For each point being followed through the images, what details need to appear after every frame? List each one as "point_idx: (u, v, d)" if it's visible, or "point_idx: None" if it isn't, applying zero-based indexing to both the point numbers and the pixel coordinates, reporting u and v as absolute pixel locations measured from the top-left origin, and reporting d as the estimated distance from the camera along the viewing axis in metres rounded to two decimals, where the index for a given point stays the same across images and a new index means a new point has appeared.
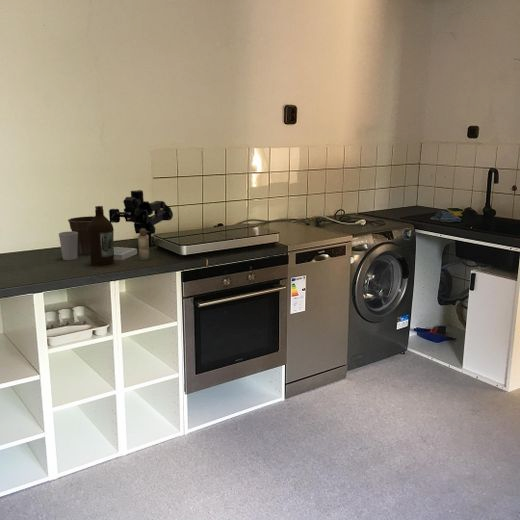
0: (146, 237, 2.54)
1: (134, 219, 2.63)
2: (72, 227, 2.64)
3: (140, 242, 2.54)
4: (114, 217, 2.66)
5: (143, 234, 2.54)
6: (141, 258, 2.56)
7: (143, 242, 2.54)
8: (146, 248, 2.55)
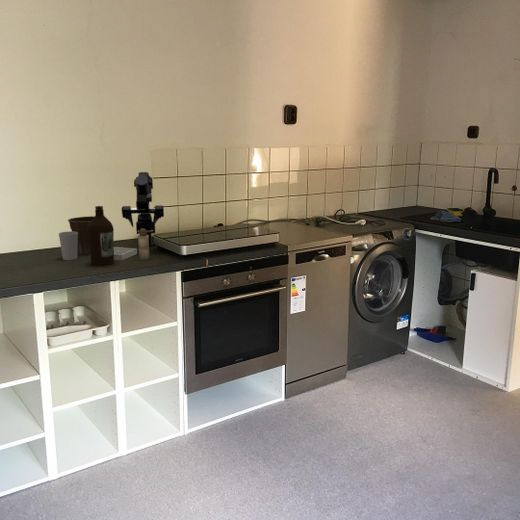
0: (146, 237, 2.54)
1: (155, 221, 2.65)
2: (72, 227, 2.64)
3: (140, 242, 2.54)
4: (132, 220, 2.63)
5: (143, 234, 2.54)
6: (141, 258, 2.56)
7: (143, 242, 2.54)
8: (146, 248, 2.55)
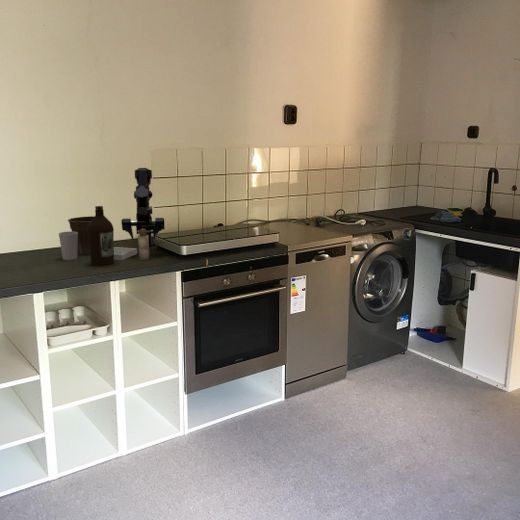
0: (146, 237, 2.54)
1: (156, 234, 2.60)
2: (72, 227, 2.64)
3: (140, 242, 2.54)
4: (132, 233, 2.58)
5: (143, 234, 2.54)
6: (141, 258, 2.56)
7: (143, 242, 2.54)
8: (146, 248, 2.55)
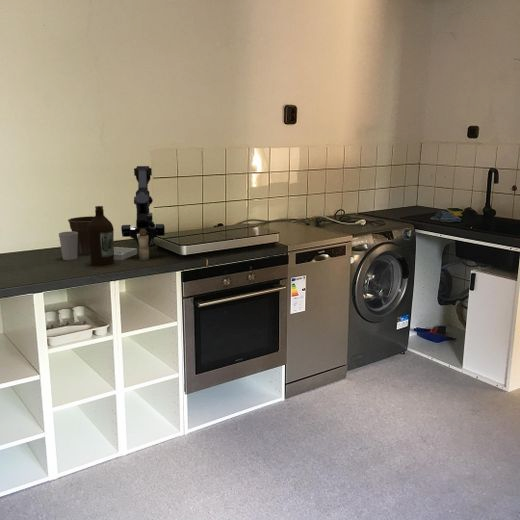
0: (146, 237, 2.54)
1: (151, 241, 2.57)
2: (72, 227, 2.64)
3: (140, 242, 2.54)
4: (137, 239, 2.56)
5: (143, 234, 2.54)
6: (141, 258, 2.56)
7: (143, 242, 2.54)
8: (146, 248, 2.55)
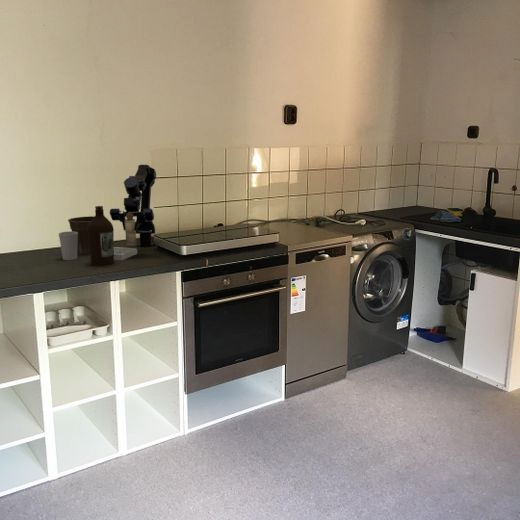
0: (132, 221, 2.54)
1: (138, 225, 2.57)
2: (72, 227, 2.64)
3: (126, 226, 2.55)
4: None
5: (129, 218, 2.54)
6: (127, 242, 2.56)
7: (128, 226, 2.54)
8: (132, 232, 2.55)
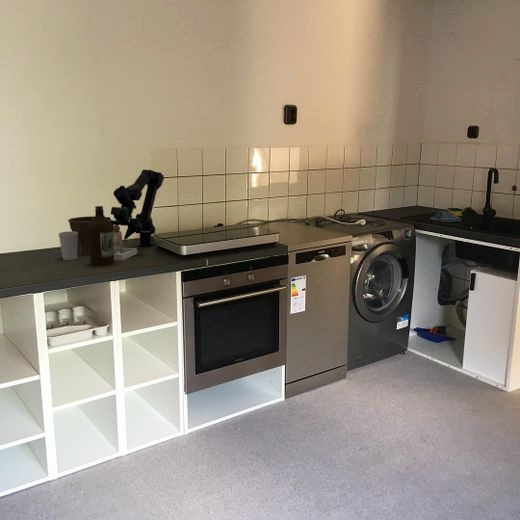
0: (117, 234, 2.59)
1: (128, 234, 2.60)
2: (72, 227, 2.64)
3: None
4: None
5: (115, 230, 2.59)
6: None
7: (114, 238, 2.59)
8: (117, 244, 2.60)
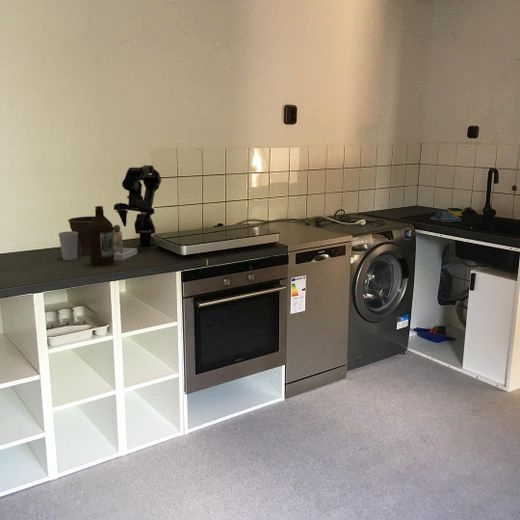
0: (118, 234, 2.59)
1: None
2: (72, 227, 2.64)
3: None
4: None
5: (115, 230, 2.59)
6: None
7: (114, 238, 2.59)
8: (117, 244, 2.60)
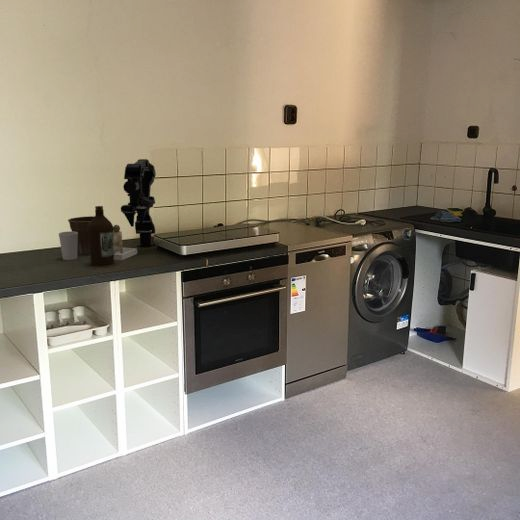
0: (117, 234, 2.59)
1: None
2: (72, 227, 2.64)
3: None
4: None
5: (115, 230, 2.59)
6: None
7: (114, 238, 2.59)
8: (117, 244, 2.60)
